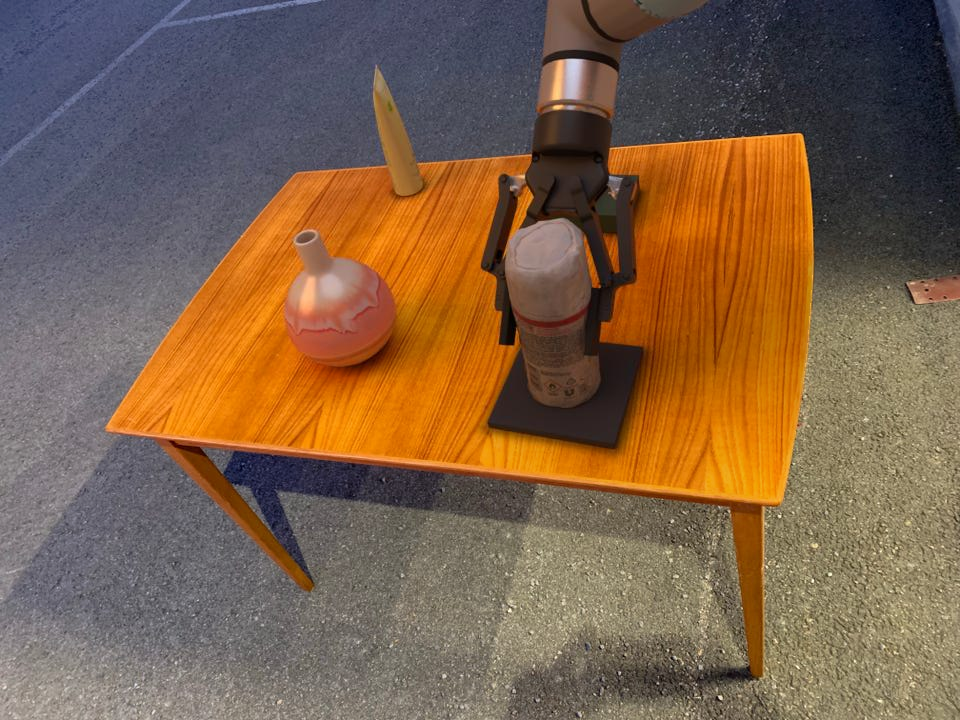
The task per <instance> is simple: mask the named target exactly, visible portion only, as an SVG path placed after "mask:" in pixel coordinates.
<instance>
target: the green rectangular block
mask: <svg viewBox="0 0 960 720" xmlns="http://www.w3.org/2000/svg"><path fill="white" fill-rule="evenodd" d="M610 175H611V176H614V177H619V178H624V177H627V176H629V177H632V179H633V180H634V181H635V182H636V183H637V185H638V192H637V195H636V199H635V202H634V205H633V211H634V210H635V207H636V203H637V201H638V199H639V196H640V194H641V189H640V175H639V174H613V173H612V174H611V173H610ZM611 192H612V191H611V188H608V189H607V190H606V191H605V193H604V194H603V195H602V196H601V197H600V198H599V200H598V201H597V202H596V203H595V207H596V210H597V214H598V217H599V223H600V226H601V230H602V233H607V234H617V221H616V200H615V199H614V198H613V197H612V195H611ZM533 198H534V196H533ZM533 198H532V199H531V201H530V203H531V202H532V200H533ZM526 213H527V210H525V214H526ZM559 218H565V219H568V220H569V221H570V222H572V223H573V224H574V225H575V226H577V227H578V228H579V229H580V230H581V231H582V232H584V229H583V225H582V222H581V221H580V218H579V217H576V216H571V215H568V214H564V215H559V216H554V215H551V216H550V218H549V219H548V220H554V219H559Z"/></svg>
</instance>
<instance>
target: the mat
mask: <svg viewBox="0 0 960 720" xmlns="http://www.w3.org/2000/svg"><path fill="white" fill-rule="evenodd" d="M643 354H644V347H643V346H639V345H632V344H622V343H614V342H606V341H605V342H604V341H599V349H598V356H599V371H600V375H601V382H600V385H599V387H598V389H597V391H596V392H595V394H593V396H592V398H590V399H589V400H588V401H586V402H584V403H581V404H579V405H577V406H575V407H570V408H566V407H565V408H562V407H554V406H548V405H544V404H543V403H542V404H541V402H538V401H537V400H535V399H534V397H533V396H532V394H531V392H530V391H529V388H528V386H527V384H528V378H527V374H526V370H525V360H524V356H523V352H522V348H521V347H520V348H519V351H518V352H517V354H516V356H515V359H514V361H513V363H512V366H511V368H510V370H509V372H508V375H507V376H506V379H505V381H504V383H503V386H502V388H501V390H500V392H499V395H498V396H497V399H496V402H495V403H494V406H493V408H492V410H491V413H490V415H489V417H488V418H487V425H488V428H490V429H496V430H500V431H501V430H502V431H506V432H508V431H509V432H513V433H518V434H519V433H520V434H525V435H531V436H536V437H542V438H547V439H554V440H558V441H566V442H571V443H572V442H573V443H577V444H583V445H588V446H593V447H595V446H596V447H600V448H606V449H612V450H616V448H617V443H618V440H619V437H620V433H621V430H622V427H623V423H624V420H625V416H626V413H627V409H628V405H629V402H630V399H631V396H632V392H633V388H634V385H635V382H636V379H637V375H638V371H639V368H640V365H641V361H642V358H643ZM561 408H562V409H561Z"/></svg>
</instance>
